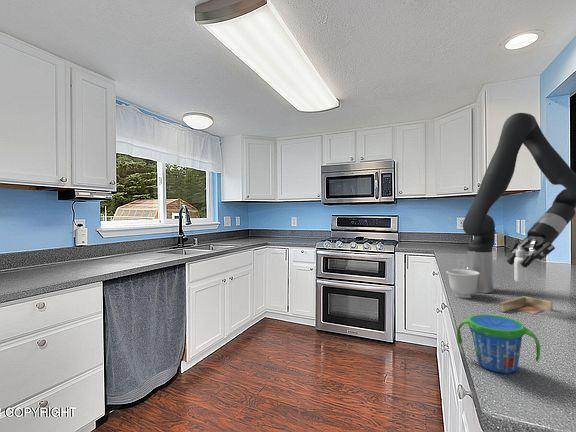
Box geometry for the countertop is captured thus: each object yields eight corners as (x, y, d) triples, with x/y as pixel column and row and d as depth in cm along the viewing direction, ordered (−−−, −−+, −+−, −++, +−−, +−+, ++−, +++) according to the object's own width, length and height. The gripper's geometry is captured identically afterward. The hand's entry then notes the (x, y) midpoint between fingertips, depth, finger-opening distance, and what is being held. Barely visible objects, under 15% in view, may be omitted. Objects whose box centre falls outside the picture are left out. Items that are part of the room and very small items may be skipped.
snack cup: (451, 362, 71) (450, 319, 71) (466, 347, 78) (465, 308, 78) (536, 389, 60) (535, 338, 59) (544, 369, 67) (543, 324, 67)
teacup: (467, 290, 132) (467, 267, 132) (486, 300, 117) (486, 274, 117) (439, 290, 133) (438, 268, 133) (454, 300, 119) (453, 275, 118)
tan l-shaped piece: (499, 311, 105) (499, 302, 105) (523, 304, 112) (523, 296, 112) (528, 319, 97) (528, 309, 97) (552, 310, 104) (552, 301, 104)
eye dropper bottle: (532, 281, 104) (532, 246, 104) (522, 283, 102) (522, 247, 102) (518, 279, 108) (518, 245, 108) (508, 280, 106) (508, 246, 106)
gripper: (521, 221, 113) (492, 254, 111) (560, 222, 98) (527, 260, 97) (534, 234, 113) (505, 268, 112) (575, 238, 99) (542, 276, 98)
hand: (515, 264), depth 105 cm, fingers closed on eye dropper bottle, 5 cm apart
